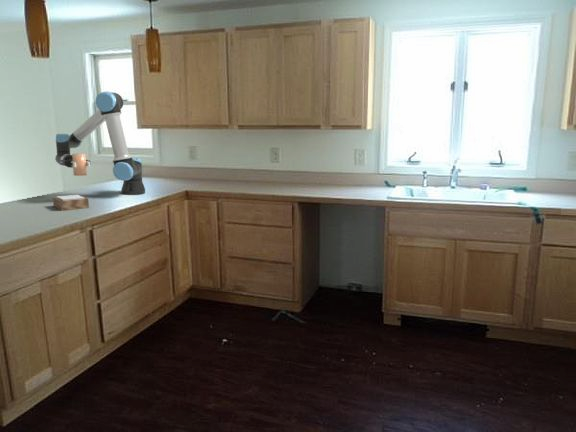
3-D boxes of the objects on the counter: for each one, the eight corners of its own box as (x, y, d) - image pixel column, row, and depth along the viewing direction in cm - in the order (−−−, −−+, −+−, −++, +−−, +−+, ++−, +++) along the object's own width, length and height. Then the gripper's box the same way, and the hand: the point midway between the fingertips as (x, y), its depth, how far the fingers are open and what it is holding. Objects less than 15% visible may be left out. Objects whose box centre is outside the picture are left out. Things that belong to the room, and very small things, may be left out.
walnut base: (79, 203, 263) (79, 194, 262) (88, 207, 253) (88, 197, 252) (53, 206, 253) (52, 196, 252) (61, 210, 243) (61, 200, 242)
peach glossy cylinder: (84, 173, 272) (83, 153, 270) (88, 175, 267) (87, 154, 265) (71, 174, 268) (70, 153, 265) (76, 176, 263) (74, 154, 260)
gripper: (86, 166, 287) (100, 170, 270) (52, 167, 273) (64, 172, 257) (85, 154, 285) (99, 157, 269) (51, 155, 272) (63, 158, 255)
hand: (82, 164), depth 263 cm, fingers closed on peach glossy cylinder, 7 cm apart
